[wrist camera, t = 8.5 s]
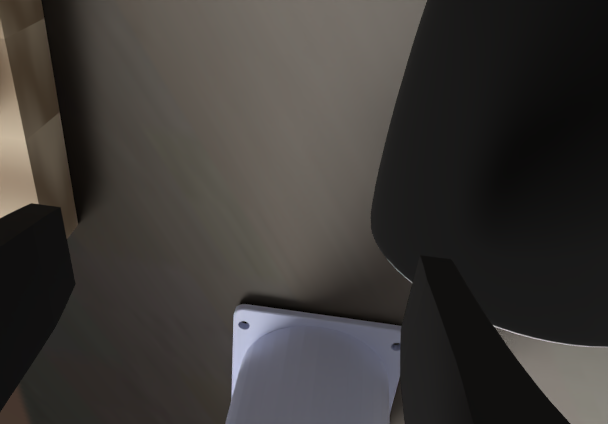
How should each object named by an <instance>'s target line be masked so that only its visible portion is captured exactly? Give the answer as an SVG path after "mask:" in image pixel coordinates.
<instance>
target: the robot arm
mask: <svg viewBox="0 0 608 424" xmlns="http://www.w3.org/2000/svg"><path fill="white" fill-rule="evenodd" d="M74 286H75V280H74V274H73V269H72V264H71V259H70V253H69V248H68V243H67V238H66V233H65V227H64V222H63V217H62V212H61V207H56V206H48V205H41V204H33V203H31V204H28V205H26V206H24V207H22V208H20V209H17V210H15V211H13V212H11V213H9V214H7V215H5V216H3V217H2V218H0V411H1V410H2V408H3V407H4V405H5V404H6V402H7V401H8V399H9V398H10V396H11V395H12V393H13V392H14V390H15V389H16V387H17V386H18V384H19V383H20V381H21V380H22V378H23V377H24V375H25V373H26V372H27V370H28V369H29V367H30V366H31V364H32V363H33V361H34V360H35V358H36V357H37V355H38V354H39V352H40V350H41V349H42V347H43V346H44V344H45V343H46V341H47V340H48V338H49V336H50V335H51V333H52V332H53V330H54V328H55V327H56V325H57V323H58V321H59V319H60V317H61V315H62V313H63V311H64V309H65V306H66V304H67V302H68V300H69V297H70V295H71V293H72V291H73V288H74ZM241 321H245V322H247V323H246V324H245V323H243V322H241ZM394 343H399V345H395V344H394ZM399 378H400V381H401V391H402V401H403V411H404V420H405V424H570V423H569V422H568V421H567V419H566V418H565V417H564V416H563V415H562V414H561V413H560V412H559V411H558V409H557V408H556V407H555V406H554V405H553V404H552V403H551V402H550V401H549V399H548V398H547V397H546V396H545V395H544V393H543V392H542V391H541V390H540V388H539V387H538V386H537V385H536V384H535V382H534V381H533V380H532V378H531V377H530V376H529V374H528V373H527V372H526V371H525V369H524V368H523V367H522V365H521V364H520V363H519V361H518V360H517V359H516V357H515V356H514V355H513V353H512V352H511V350H510V349H509V348H508V346H507V345H506V343H505V342H504V340H503V339H502V338H501V336H500V335H499V333H498V332H497V330H496V329H495V327H494V326H493V325H492V323H491V322H490V320H489V319H488V317H487V315H486V314H485V312H484V311H483V309H482V308H481V306H480V305H479V303H478V301H477V300H476V298H475V297H474V295H473V293H472V292H471V290H470V288H469V287H468V285H467V283H466V282H465V280H464V278H463V277H462V275H461V273H460V272H459V270H458V268H457V267H456V265H455V264H454V262H453V261H452V260H451V259H445V258H437V257H430V256H422V255H420V257H419V261H418V265H417V268H416V272H415V276H414V280H413V284H412V288H411V292H410V295H409V299H408V303H407V307H406V311H405V315H404V319H403V322H402V326H399V325H392V324H385V323H378V322H370V321H363V320H356V319H349V318H342V317H335V316H328V315H321V314H313V313H306V312H299V311H292V310H285V309H278V308H271V307H263V306H256V305H249V304H241V305H238V306H237V307H236V309H235V312H234V319H233V360H232V400H231V404H230V408H229V412H228V416H227V419H226V423H225V424H390V411H391V408H392V404H393V400H394V397H395V393H396V389H397V386H398V382H399Z"/></svg>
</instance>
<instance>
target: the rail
mask: <svg viewBox="0 0 608 424" xmlns="http://www.w3.org/2000/svg"><path fill="white" fill-rule="evenodd" d="M31 203H33V204H41V205H48V206H56V207H61V212H62V217H63V222H64V227H65V233H66V238H68V237H69V236H70V235H71V233H72V232H73V231H74V229H75V228H76V227H77V226H78V221H77V214H76V208H75V202H74V196H73V190H72V184H71V178H70V172H69V166H68V160H67V154H66V147H65V141H64V135H63V129H62V123H61V117H60V111H59V105H58V99H57V93H56V87H55V80H54V74H53V68H52V62H51V56H50V50H49V44H48V38H47V32H46V26H45V20H44V13H43V7H42V1H41V0H0V218H2V217H3V216H5V215H7V214H9V213H11V212H13V211H15V210H17V209H20V208H22V207H24V206H26V205H28V204H31Z"/></svg>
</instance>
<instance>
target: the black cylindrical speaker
mask: <svg viewBox="0 0 608 424" xmlns="http://www.w3.org/2000/svg"><path fill="white" fill-rule="evenodd" d="M371 229H372V234H373V236H374V239H375V242H376V243H377V245H378V247H379V249H380V250H381V252H382V253H383V254H384V256H385V257H386V258H387V260H388V261H389V262H390V263H391V264H392V265H393V266H394V267H395V269H396V270H397V271H399V272H400V273H401V274H402V275H403V276H404V277H405V278H406V279H408V280H409V281H410V282H411V283H413V280H414V276H415V272H416V268H417V265H418V261H419V257H420V255H422V256H430V257H437V258H445V259H451V260H452V261H453V262H454V264H455V265H456V267H457V268H458V270H459V272H460V273H461V275H462V277H463V278H464V280H465V282H466V283H467V285H468V287H469V288H470V290H471V292H472V293H473V295H474V297H475V298H476V300H477V301H478V303H479V305H480V306H481V308H482V309H483V311H484V312H485V314H486V315H487V317H488V319H489V320H490V322H491V323H492V325H493V326H494V327H496V328H499V329H502V330H506V331H509V332H512V333H515V334H519V335H522V336H526V337H530V338H533V339H538V340H543V341H547V342H552V343H559V344H565V345H573V346H584V347H608V0H427V3H426V6H425V9H424V12H423V15H422V18H421V21H420V24H419V27H418V30H417V33H416V36H415V39H414V43H413V46H412V49H411V53H410V56H409V59H408V63H407V66H406V69H405V73H404V76H403V80H402V83H401V87H400V90H399V94H398V97H397V101H396V104H395V108H394V112H393V115H392V119H391V123H390V127H389V131H388V135H387V138H386V142H385V147H384V151H383V155H382V159H381V163H380V168H379V172H378V177H377V181H376V186H375V191H374V197H373V203H372V209H371Z"/></svg>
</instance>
